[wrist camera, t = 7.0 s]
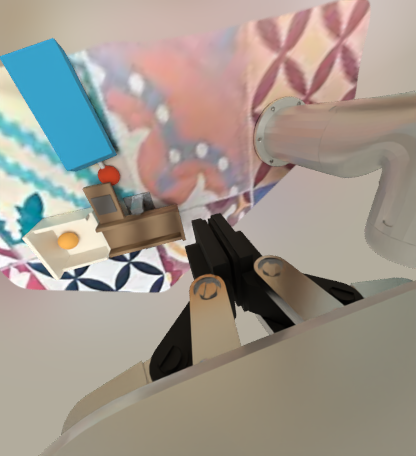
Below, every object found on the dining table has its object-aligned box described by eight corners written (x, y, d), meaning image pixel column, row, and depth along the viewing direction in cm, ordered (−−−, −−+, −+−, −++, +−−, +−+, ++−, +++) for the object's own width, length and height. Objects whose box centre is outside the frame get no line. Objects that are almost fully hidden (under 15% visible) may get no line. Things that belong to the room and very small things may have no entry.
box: (95, 206, 36) (85, 222, 30) (115, 244, 41) (109, 265, 35) (43, 218, 35) (21, 238, 29) (69, 256, 39) (56, 280, 34)
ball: (77, 228, 36) (64, 238, 33) (85, 242, 38) (74, 252, 35) (62, 229, 36) (49, 239, 34) (71, 243, 38) (59, 253, 35)
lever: (38, 84, 30) (99, 192, 35) (-2, 56, 23) (81, 194, 28) (80, 69, 30) (134, 177, 35) (53, 37, 23) (124, 177, 29)
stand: (149, 191, 37) (149, 201, 33) (162, 233, 43) (164, 246, 38) (123, 197, 37) (119, 208, 32) (140, 239, 42) (139, 253, 37)
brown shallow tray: (167, 168, 33) (169, 174, 29) (183, 228, 39) (185, 240, 35) (83, 185, 31) (73, 194, 27) (114, 245, 38) (109, 259, 34)
